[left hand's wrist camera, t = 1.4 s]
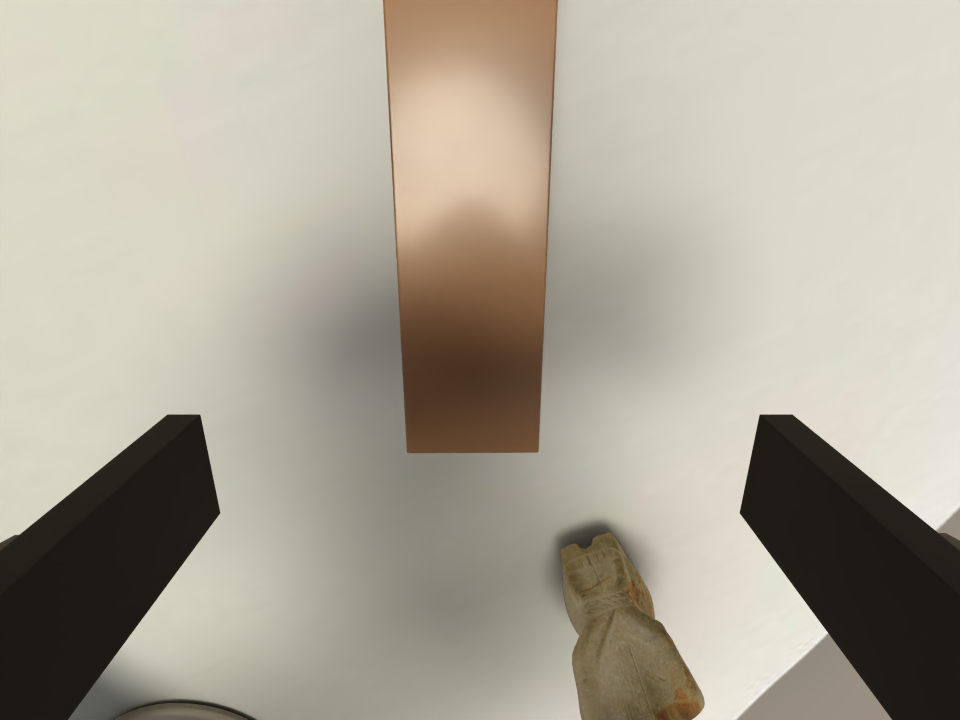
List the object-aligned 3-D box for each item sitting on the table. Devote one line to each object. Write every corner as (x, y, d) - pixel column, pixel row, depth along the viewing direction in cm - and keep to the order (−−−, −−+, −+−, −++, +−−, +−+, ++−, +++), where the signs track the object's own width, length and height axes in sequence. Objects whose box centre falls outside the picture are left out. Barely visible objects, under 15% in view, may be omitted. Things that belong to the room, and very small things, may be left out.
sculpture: (570, 621, 35) (633, 922, 21) (537, 537, 33) (584, 812, 19) (655, 597, 35) (779, 890, 21) (628, 510, 33) (747, 773, 18)
